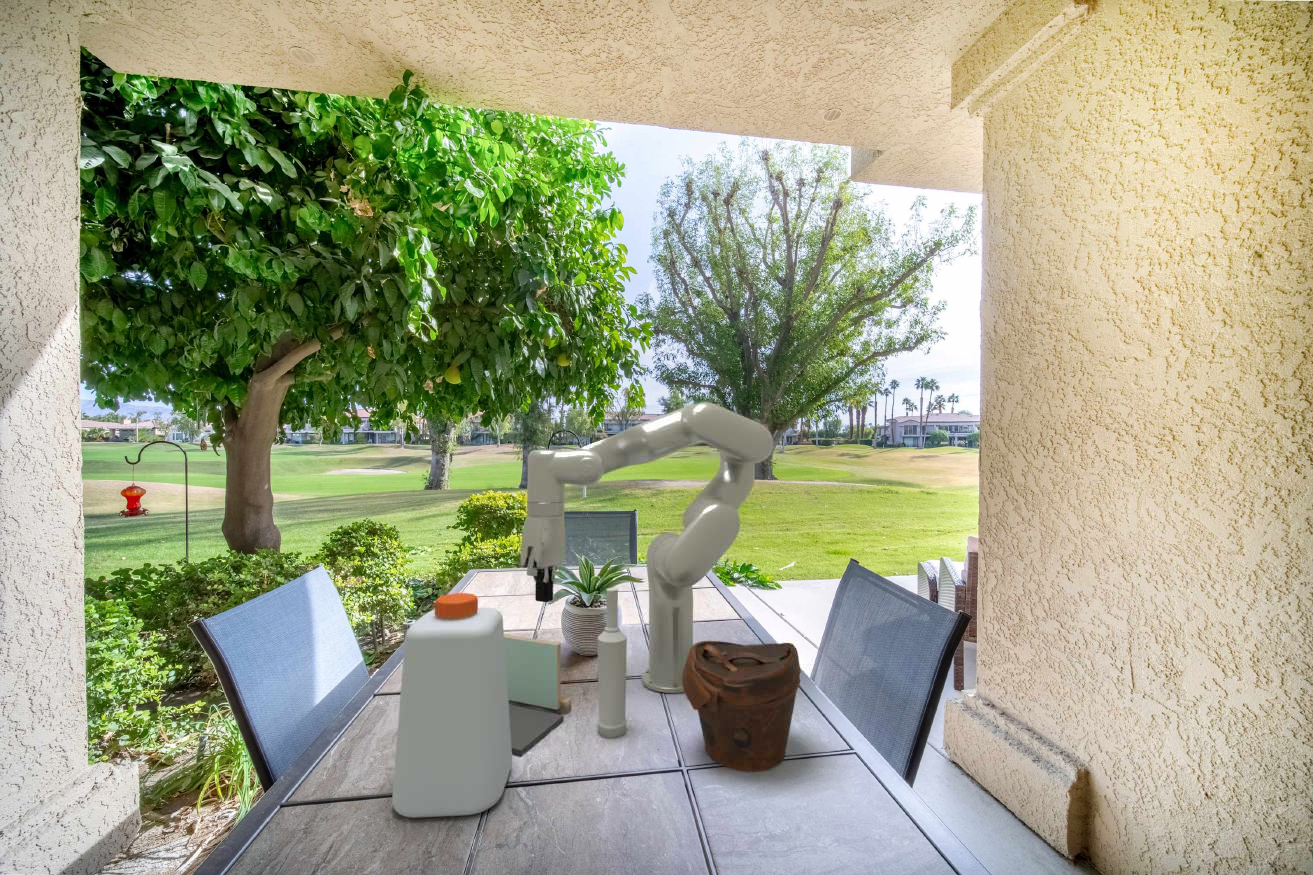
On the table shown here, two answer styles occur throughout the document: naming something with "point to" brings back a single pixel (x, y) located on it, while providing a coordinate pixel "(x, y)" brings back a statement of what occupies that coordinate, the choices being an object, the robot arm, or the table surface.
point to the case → (743, 700)
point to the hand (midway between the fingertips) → (544, 600)
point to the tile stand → (563, 709)
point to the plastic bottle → (453, 712)
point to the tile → (533, 671)
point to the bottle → (612, 672)
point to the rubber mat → (530, 727)
